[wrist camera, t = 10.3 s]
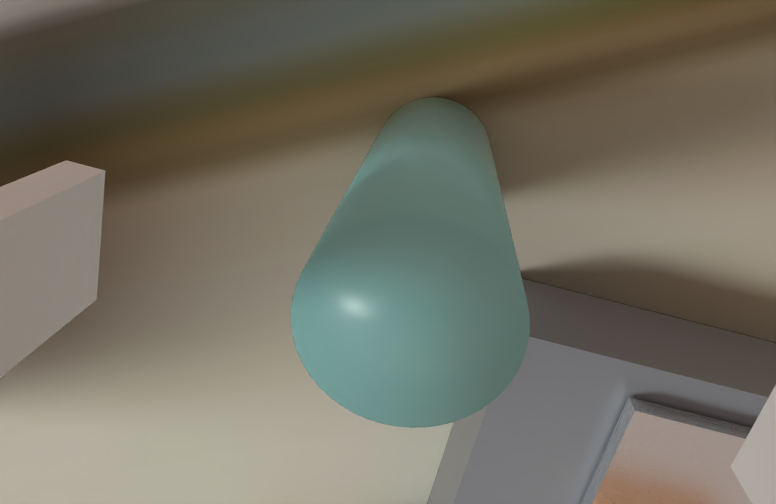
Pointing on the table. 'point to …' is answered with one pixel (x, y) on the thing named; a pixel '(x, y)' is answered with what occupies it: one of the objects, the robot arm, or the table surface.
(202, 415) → the table surface
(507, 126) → the table surface
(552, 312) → the socket
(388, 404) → the plug peg
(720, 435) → the shutter
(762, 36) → the table surface
